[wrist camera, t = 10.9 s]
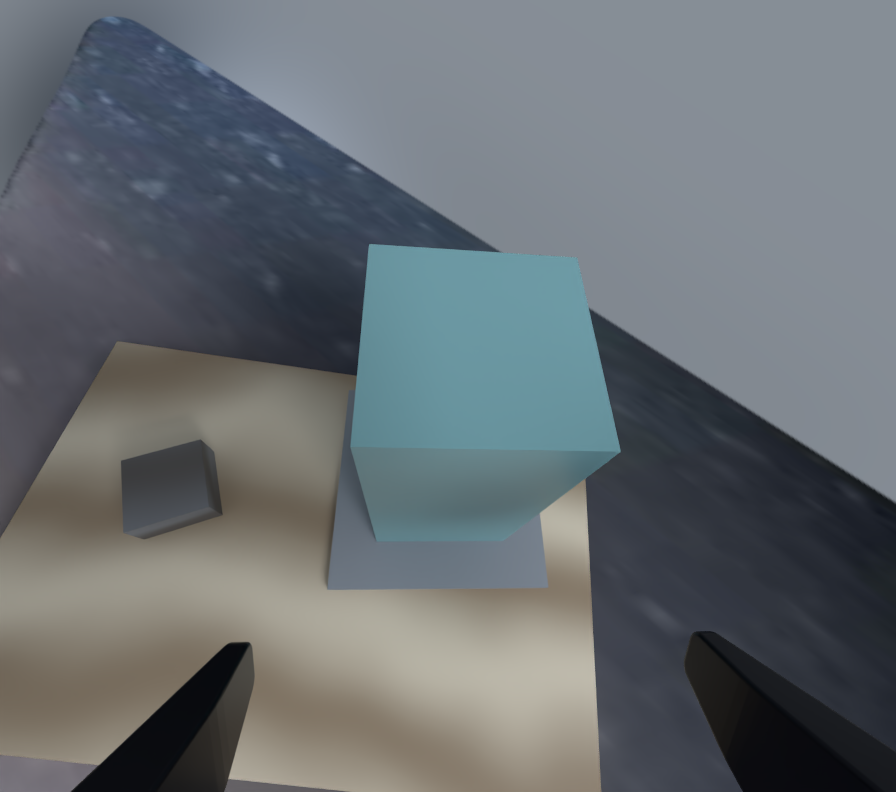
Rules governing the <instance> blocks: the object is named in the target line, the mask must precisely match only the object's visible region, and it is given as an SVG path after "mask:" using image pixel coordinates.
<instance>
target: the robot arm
mask: <svg viewBox="0 0 896 792" xmlns="http://www.w3.org/2000/svg"><path fill="white" fill-rule="evenodd" d="M684 668H685V672H686V675H687V677H688V680H689V682H690V684H691V686H692V688H693V691H694V693H695V695H696V697H697V699H698V701H699V704H700V706H701V708H702V710H703V712H704V715H705V717H706V719H707V721H708V723H709V726H710V728H711V730H712V732H713V734H714V737H715V739H716V741H717V743H718V745H719V747H720V749H721V751H722V753H723V756H724V758H725V760H726V761H727V763H728V765H729V767H730V769H731V771H732V773H733V775H734V777H735V778H736V780H737V782H738V784H739V786H740V787H741V789H742V791H743V792H896V751H894V750H893V749H891V748H890V747H888V746H887V745H885V744H884V743H882V742H881V741H879V740H878V739H876V738H875V737H873V736H872V735H870V734H869V733H867V732H866V731H864V730H863V729H861V728H860V727H858V726H857V725H855V724H853V723H852V722H850V721H849V720H847V719H846V718H844V717H843V716H841V715H840V714H838V713H837V712H835V711H834V710H832V709H831V708H829V707H828V706H826V705H825V704H823V703H822V702H820V701H819V700H817V699H816V698H814V697H812V696H811V695H809V694H808V693H806V692H805V691H803V690H802V689H800V688H799V687H797V686H796V685H794V684H793V683H791V682H790V681H788V680H787V679H785V678H784V677H782V676H781V675H779V674H778V673H776V672H774V671H773V670H771V669H770V668H768V667H767V666H765V665H764V664H762V663H761V662H759V661H758V660H756V659H755V658H753V657H752V656H750V655H749V654H747V653H746V652H744V651H743V650H741V649H740V648H738V647H737V646H735V645H733V644H732V643H730V642H729V641H727V640H726V639H724V638H723V637H721V636H720V635H718V634H717V633H715V632H711V631H699V632H694V633H693V634H692V635H691V637H690V641H689V645H688V648H687V652H686V655H685V659H684ZM254 680H255V671H254V660H253V649H252V645H251V643H250V642H230V643H228V644H226V645H225V646H224V647H223V648H222V649H221V650H220V651H218V652H217V653H216V654H215V655H214V656H213V657H212V658H211V659H210V660H209V661H208V662H207V663H206V664H205V665H204V666H203V667H202V668H201V669H200V670H198V671H197V672H196V673H195V674H194V675H193V676H192V677H191V678H190V679H189V680H188V681H187V682H186V683H185V684H184V685H183V686H182V687H181V688H180V689H178V690H177V691H176V692H175V693H174V694H173V695H172V696H171V697H170V698H169V699H168V700H167V701H166V702H165V703H164V704H163V705H162V706H161V707H160V708H158V709H157V710H156V711H155V712H154V713H153V714H152V715H151V716H150V717H149V718H148V719H147V720H146V721H145V722H144V723H143V724H142V725H141V726H140V727H138V728H137V729H136V730H135V731H134V732H133V733H132V734H131V735H130V736H129V737H128V738H127V739H126V740H125V741H124V742H123V743H122V744H121V745H120V746H118V747H117V748H116V749H115V750H114V751H113V752H112V753H111V754H110V755H109V756H108V757H107V758H106V759H105V760H104V761H103V762H102V763H101V764H100V765H99V766H97V767H96V768H95V769H94V770H93V771H92V772H91V773H90V774H89V775H88V776H87V777H86V778H85V779H84V780H83V781H82V782H81V783H80V784H79V785H77V786H76V787H75V788H74V789H73V790H72V791H71V792H224V791H225V788H226V785H227V781H228V778H229V774H230V771H231V767H232V764H233V760H234V756H235V753H236V749H237V745H238V742H239V738H240V734H241V731H242V727H243V723H244V720H245V716H246V712H247V709H248V705H249V701H250V698H251V694H252V690H253V686H254Z"/></svg>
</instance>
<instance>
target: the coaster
mask: <svg viewBox="0 0 896 792" xmlns="http://www.w3.org/2000/svg"><path fill="white" fill-rule="evenodd" d="M355 391H356V390H349V394H348V403H347V412H346V421H345V431H344V440H343V449H342V458H341V467H340V476H339V486H338V495H337V504H336V513H335V522H334V532H333V541H332V550H331V559H330V568H329V577H328V587H327V590H395V589H499V588H548V580H547V571H546V563H545V554H544V545H543V536H542V528H541V519H540V513H539V514H538V515H537V516H535V517H534V518H533V519H531V520H530V521H529V522H527V523H526V524H525V525H523V526H522V527H521V528H519V529H518V530H517V531H515V532H514V533H513V534H512V535H510V536H509V537H508V538H506V539H505V540H504V541H402V542H377V541H376V537H375V534H374V530H373V526H372V523H371V519H370V516H369V512H368V509H367V505H366V501H365V498H364V494H363V491H362V487H361V483H360V480H359V476H358V473H357V469H356V466H355V462H354V458H353V455H352V451H351V448H350V445H351V434H352V424H353V413H354V402H355Z"/></svg>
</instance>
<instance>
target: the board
mask: <svg viewBox="0 0 896 792" xmlns="http://www.w3.org/2000/svg"><path fill="white" fill-rule="evenodd" d="M356 381H357V376H355V375H348V374H341V373H334V372H327V371H320V370H313V369H306V368H299V367H293V366H286V365H279V364H272V363H265V362H258V361H251V360H244V359H237V358H230V357H224V356H217V355H210V354H203V353H196V352H189V351H182V350H175V349H168V348H161V347H155V346H148V345H141V344H134V343H127V342H120V341H117V342H116V344H115V346H114V347H113V349H112V351H111V353H110V354H109V356H108V358H107V359H106V361H105V363H104V364H103V366H102V368H101V369H100V371H99V373H98V374H97V376H96V378H95V379H94V381H93V383H92V385H91V386H90V388H89V390H88V391H87V393H86V395H85V396H84V398H83V400H82V401H81V403H80V405H79V406H78V408H77V410H76V411H75V413H74V415H73V417H72V418H71V420H70V422H69V423H68V425H67V427H66V428H65V430H64V432H63V433H62V435H61V437H60V438H59V440H58V442H57V444H56V445H55V447H54V449H53V450H52V452H51V454H50V455H49V457H48V459H47V460H46V462H45V464H44V465H43V467H42V469H41V470H40V472H39V474H38V476H37V477H36V479H35V481H34V482H33V484H32V486H31V487H30V489H29V491H28V492H27V494H26V496H25V497H24V499H23V501H22V502H21V504H20V506H19V508H18V509H17V511H16V513H15V514H14V516H13V518H12V519H11V521H10V523H9V524H8V526H7V528H6V529H5V531H4V533H3V534H2V536H1V538H0V755H8V756H17V757H27V758H36V759H46V760H55V761H65V762H74V763H84V764H93V765H100V764H101V763H102V762H103V761H104V760H105V759H106V758H107V757H108V756H109V755H110V754H111V753H112V752H113V751H114V750H115V749H116V748H117V747H118V746H120V745H121V744H122V743H123V742H124V741H125V740H126V739H127V738H128V737H129V736H130V735H131V734H132V733H133V732H134V731H135V730H136V729H137V728H138V727H140V726H141V725H142V724H143V723H144V722H145V721H146V720H147V719H148V718H149V717H150V716H151V715H152V714H153V713H154V712H155V711H156V710H157V709H158V708H160V707H161V706H162V705H163V704H164V703H165V702H166V701H167V700H168V699H169V698H170V697H171V696H172V695H173V694H174V693H175V692H176V691H177V690H178V689H180V688H181V687H182V686H183V685H184V684H185V683H186V682H187V681H188V680H189V679H190V678H191V677H192V676H193V675H194V674H195V673H196V672H197V671H198V670H200V669H201V668H202V667H203V666H204V665H205V664H206V663H207V662H208V661H209V660H210V659H211V658H212V657H213V656H214V655H215V654H216V653H217V652H218V651H220V650H221V649H222V648H223V647H224V646H225V645H226V644H228V643H230V642H250V643H251V645H252V649H253V660H254V671H255V680H254V686H253V690H252V694H251V698H250V701H249V705H248V709H247V712H246V716H245V720H244V723H243V727H242V731H241V734H240V738H239V742H238V745H237V749H236V753H235V756H234V760H233V764H232V767H231V771H230V774H229V778H228V779H235V780H245V781H254V782H264V783H273V784H283V785H292V786H302V787H311V788H321V789H330V790H340V791H349V792H601V781H600V762H599V742H598V722H597V702H596V682H595V662H594V643H593V623H592V603H591V583H590V563H589V543H588V524H587V504H586V484H585V479H584V480H583V481H581V482H580V483H579V484H577V485H576V486H575V487H573V488H572V489H571V490H569V491H568V492H567V493H566V494H564V495H563V496H562V497H560V498H559V499H558V500H556V501H555V502H554V503H552V504H551V505H550V506H548V507H547V508H546V509H544V510H543V511H542V512H541V513H540V519H541V528H542V536H543V545H544V554H545V563H546V571H547V580H548V588H499V589H395V590H327V587H328V577H329V568H330V559H331V550H332V541H333V532H334V522H335V513H336V504H337V495H338V486H339V476H340V467H341V458H342V449H343V440H344V431H345V421H346V412H347V403H348V394H349V390H356Z"/></svg>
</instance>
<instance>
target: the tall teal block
mask: <svg viewBox="0 0 896 792" xmlns="http://www.w3.org/2000/svg"><path fill="white" fill-rule="evenodd" d="M350 448H351V451H352V455H353V458H354V462H355V466H356V469H357V473H358V476H359V480H360V483H361V487H362V491H363V494H364V498H365V501H366V505H367V509H368V512H369V516H370V519H371V523H372V526H373V530H374V534H375V537H376V541H377V542H402V541H504V540H505V539H506V538H508V537H509V536H510V535H512V534H513V533H514V532H515V531H517V530H518V529H519V528H521V527H522V526H523V525H525V524H526V523H527V522H529V521H530V520H531V519H533V518H534V517H535V516H537V515H538V514H539V513H541V512H542V511H543V510H544V509H546V508H547V507H548V506H550V505H551V504H552V503H554V502H555V501H556V500H558V499H559V498H560V497H562V496H563V495H564V494H566V493H567V492H568V491H569V490H571V489H572V488H573V487H575V486H576V485H577V484H579V483H580V482H581V481H583V480H584V479H585V478H587V477H588V476H589V475H591V474H592V473H593V472H595V471H596V470H597V469H598V468H600V467H601V466H602V465H604V464H605V463H606V462H608V461H609V460H610V459H612V458H613V457H614V456H616V455H617V454H618V453H620V452H621V451H620V446H619V442H618V437H617V433H616V428H615V424H614V419H613V415H612V411H611V406H610V402H609V397H608V393H607V388H606V384H605V380H604V375H603V371H602V366H601V362H600V357H599V353H598V348H597V344H596V340H595V335H594V331H593V326H592V322H591V317H590V313H589V308H588V304H587V300H586V295H585V291H584V287H583V282H582V278H581V273H580V269H579V264H578V260H577V258H575V257H573V258H572V257H559V256H543V255H528V254H513V253H498V252H482V251H467V250H452V249H436V248H421V247H405V246H390V245H375V244H369V251H368V262H367V273H366V284H365V294H364V305H363V316H362V327H361V337H360V348H359V359H358V370H357V381H356V391H355V402H354V413H353V424H352V434H351V445H350Z"/></svg>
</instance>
